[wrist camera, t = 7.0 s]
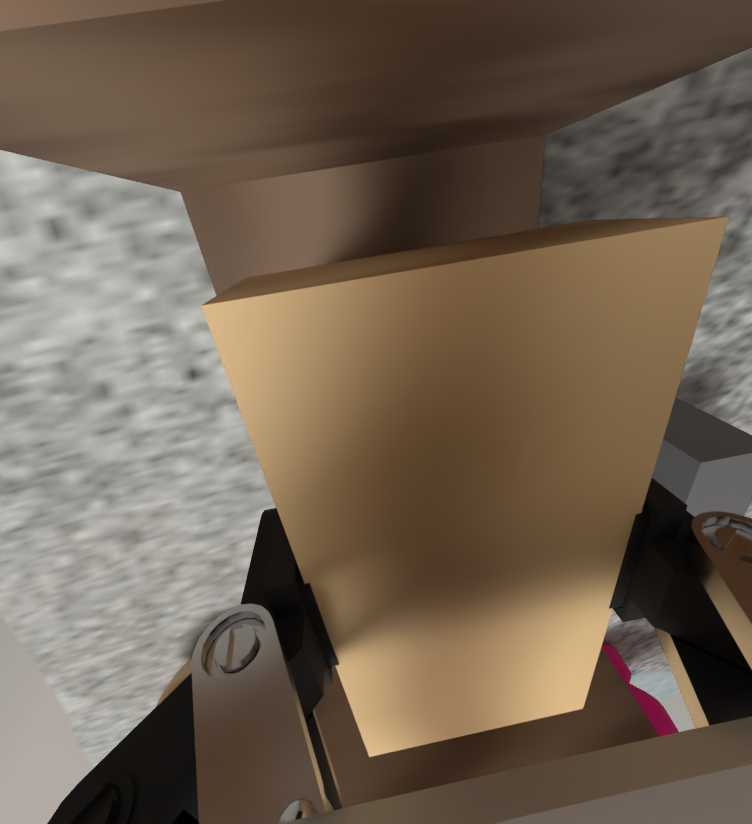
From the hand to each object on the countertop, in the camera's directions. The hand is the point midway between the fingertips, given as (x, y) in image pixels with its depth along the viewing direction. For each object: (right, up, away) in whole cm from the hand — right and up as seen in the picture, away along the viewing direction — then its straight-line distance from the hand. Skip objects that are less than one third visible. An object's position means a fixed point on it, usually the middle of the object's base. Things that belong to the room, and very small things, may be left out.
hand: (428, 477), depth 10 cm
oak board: (0, -1, -1) cm, 1 cm away
